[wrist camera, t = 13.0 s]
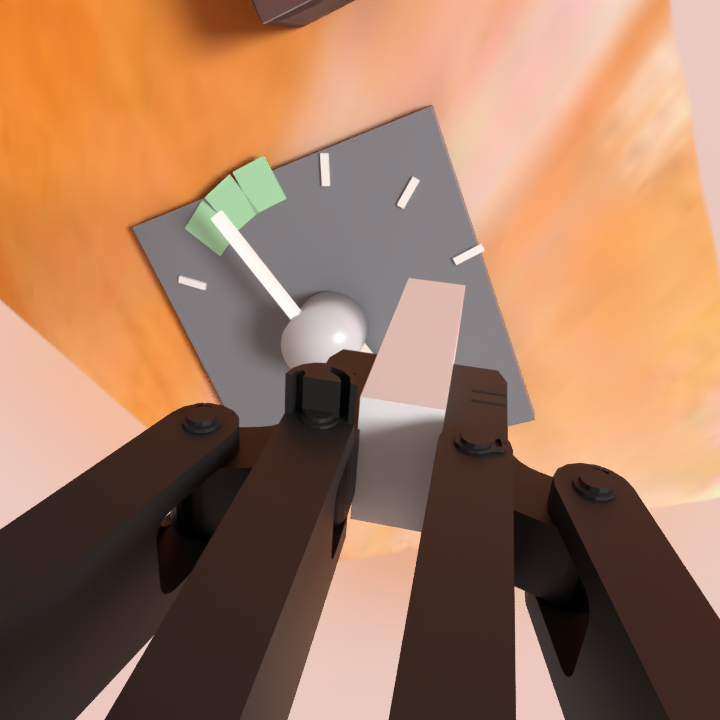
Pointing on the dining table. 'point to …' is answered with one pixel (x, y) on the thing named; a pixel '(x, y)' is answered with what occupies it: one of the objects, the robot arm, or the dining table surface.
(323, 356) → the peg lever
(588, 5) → the dining table surface
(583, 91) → the dining table surface
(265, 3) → the box
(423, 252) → the dial board
